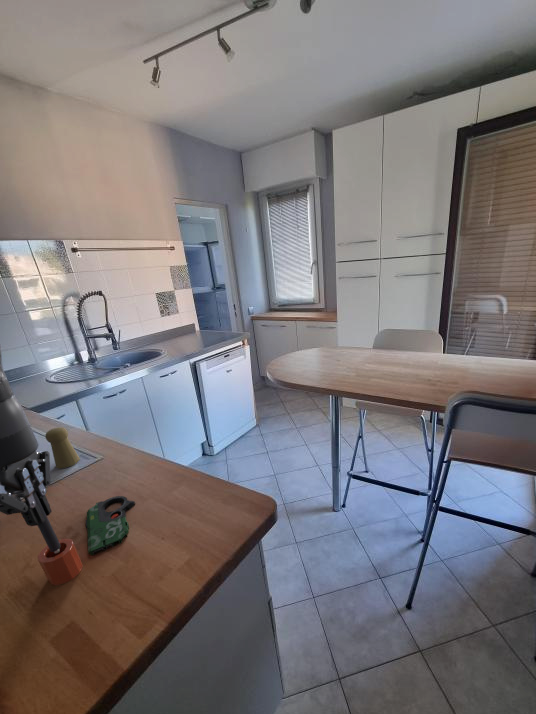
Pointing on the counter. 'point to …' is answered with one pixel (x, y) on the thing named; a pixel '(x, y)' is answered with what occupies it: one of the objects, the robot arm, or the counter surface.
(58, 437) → the cork
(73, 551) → the pen cup
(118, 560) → the counter surface
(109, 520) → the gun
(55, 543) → the dark gray rod
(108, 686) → the counter surface
